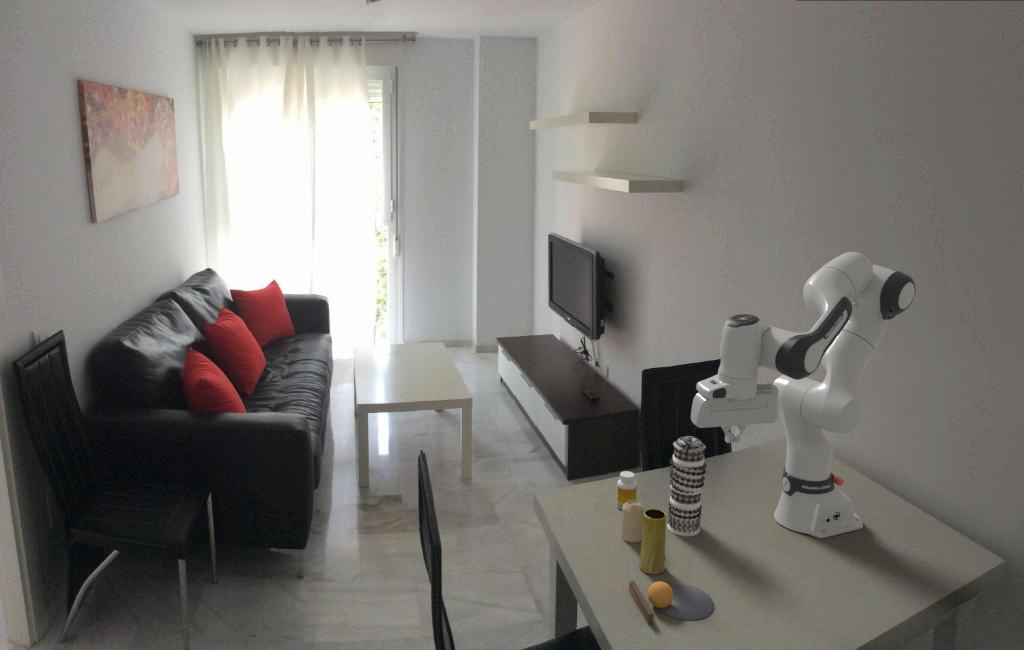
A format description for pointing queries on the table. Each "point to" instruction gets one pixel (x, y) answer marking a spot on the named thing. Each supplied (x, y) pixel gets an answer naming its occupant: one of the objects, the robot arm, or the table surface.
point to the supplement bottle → (626, 488)
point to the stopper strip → (641, 602)
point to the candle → (632, 521)
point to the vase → (653, 542)
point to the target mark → (688, 603)
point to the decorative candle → (686, 486)
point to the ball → (660, 594)
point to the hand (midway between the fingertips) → (732, 441)
